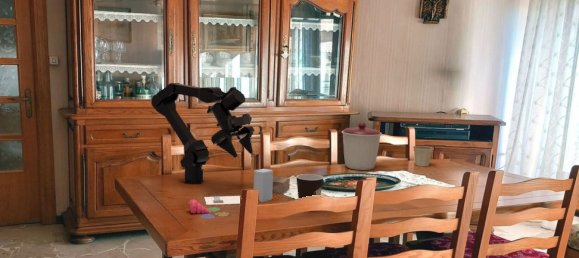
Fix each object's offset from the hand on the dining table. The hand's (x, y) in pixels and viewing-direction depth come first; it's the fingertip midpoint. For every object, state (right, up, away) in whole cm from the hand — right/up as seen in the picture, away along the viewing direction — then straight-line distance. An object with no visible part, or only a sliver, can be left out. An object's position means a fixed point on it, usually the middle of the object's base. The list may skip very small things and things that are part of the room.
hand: (244, 155), depth 175 cm
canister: (+48, -9, +50) cm, 70 cm away
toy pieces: (-8, -17, -25) cm, 31 cm away
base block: (+11, -13, +5) cm, 18 cm away
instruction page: (-6, -14, -11) cm, 19 cm away
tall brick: (+7, -15, -8) cm, 18 cm away
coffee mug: (+24, -16, -15) cm, 32 cm away
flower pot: (+79, -8, +61) cm, 100 cm away
